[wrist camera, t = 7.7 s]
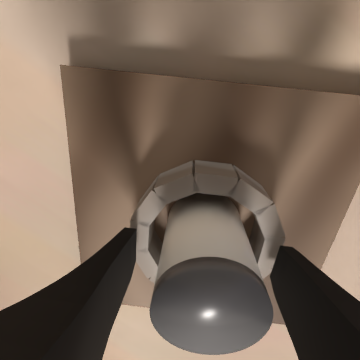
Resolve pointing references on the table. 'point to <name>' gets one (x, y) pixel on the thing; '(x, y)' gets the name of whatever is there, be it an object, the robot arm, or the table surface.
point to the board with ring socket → (208, 162)
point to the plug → (209, 280)
